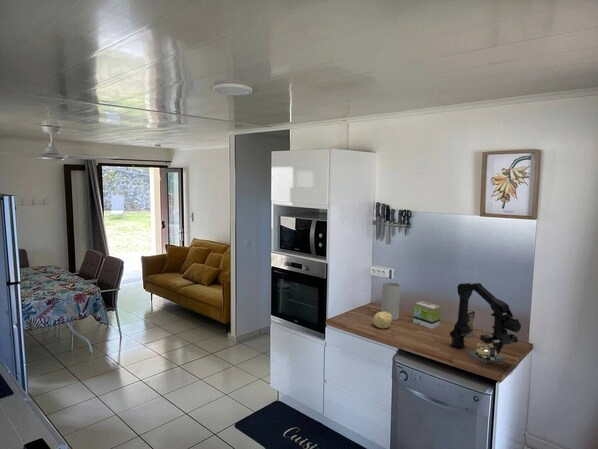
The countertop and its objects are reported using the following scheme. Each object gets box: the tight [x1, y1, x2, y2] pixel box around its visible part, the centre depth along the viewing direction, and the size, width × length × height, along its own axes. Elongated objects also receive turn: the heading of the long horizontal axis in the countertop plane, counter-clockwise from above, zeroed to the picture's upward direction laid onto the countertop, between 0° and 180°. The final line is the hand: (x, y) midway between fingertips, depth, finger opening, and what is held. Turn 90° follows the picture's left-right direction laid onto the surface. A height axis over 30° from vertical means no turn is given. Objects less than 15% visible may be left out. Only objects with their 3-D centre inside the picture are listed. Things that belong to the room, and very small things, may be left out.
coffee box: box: [463, 309, 476, 339], centre depth 264 cm, size 9×6×16 cm
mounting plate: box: [466, 350, 506, 365], centre depth 231 cm, size 13×15×2 cm
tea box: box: [412, 300, 441, 330], centre depth 282 cm, size 15×10×15 cm, turn 42°
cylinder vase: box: [380, 281, 401, 322], centre depth 294 cm, size 12×12×25 cm
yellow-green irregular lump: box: [474, 342, 497, 360], centre depth 227 cm, size 17×11×8 cm, turn 172°
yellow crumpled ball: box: [373, 311, 393, 329], centre depth 275 cm, size 12×12×11 cm
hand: (497, 353), depth 220 cm, fingers closed
